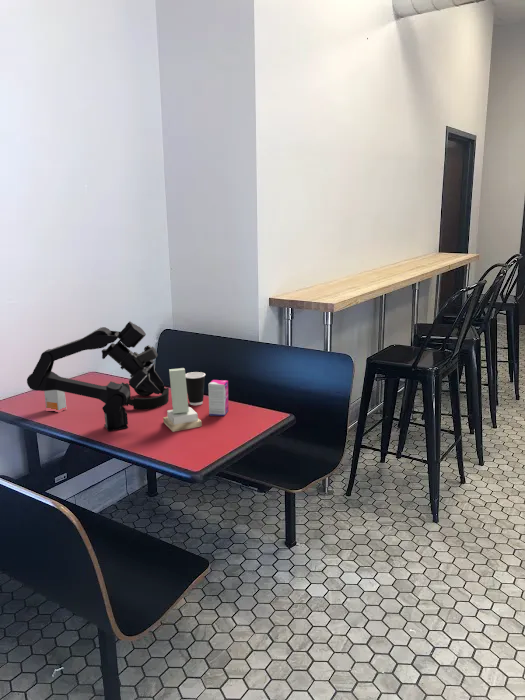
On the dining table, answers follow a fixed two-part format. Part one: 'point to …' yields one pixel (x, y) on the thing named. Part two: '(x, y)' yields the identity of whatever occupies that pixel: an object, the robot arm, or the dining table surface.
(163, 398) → the headphones
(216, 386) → the supplement box
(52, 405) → the skincare box
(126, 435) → the dining table surface
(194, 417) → the tower top slab
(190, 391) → the dixie cup
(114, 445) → the dining table surface
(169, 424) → the tower base slab
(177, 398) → the tall block
